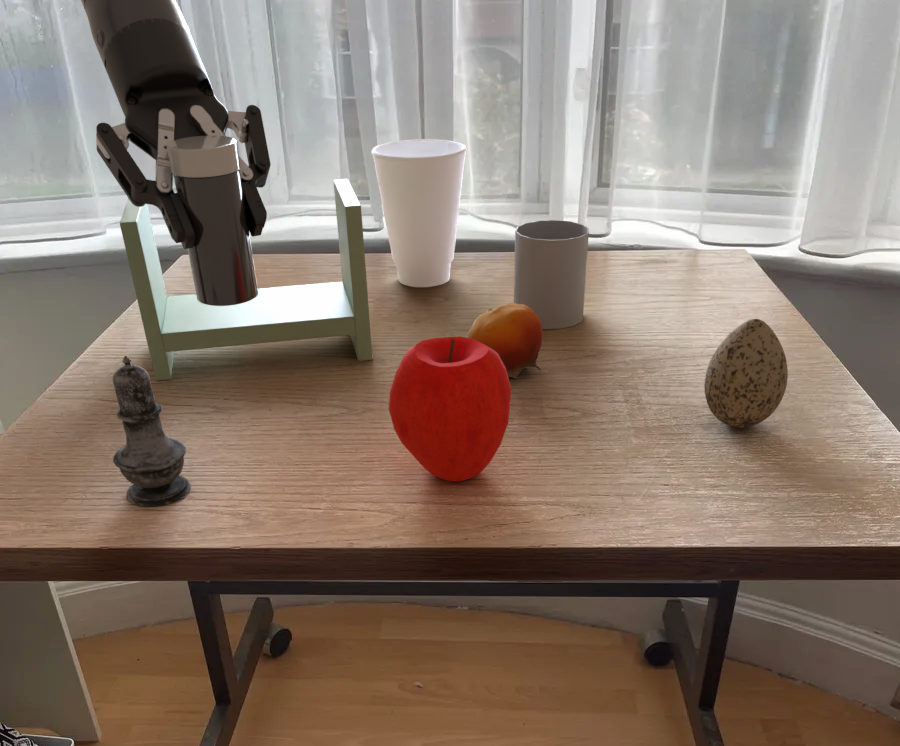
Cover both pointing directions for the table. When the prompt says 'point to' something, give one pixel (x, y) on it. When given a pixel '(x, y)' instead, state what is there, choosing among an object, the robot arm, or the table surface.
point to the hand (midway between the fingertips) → (224, 236)
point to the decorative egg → (746, 375)
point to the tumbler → (215, 218)
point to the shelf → (262, 317)
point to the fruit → (510, 335)
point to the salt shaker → (146, 443)
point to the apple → (451, 405)
